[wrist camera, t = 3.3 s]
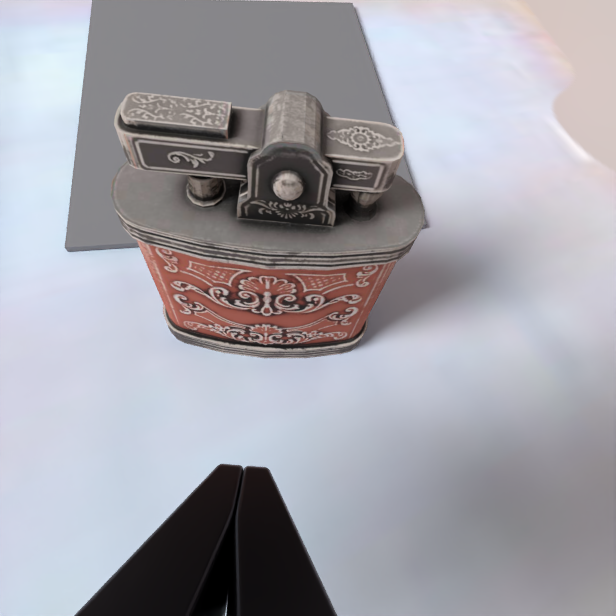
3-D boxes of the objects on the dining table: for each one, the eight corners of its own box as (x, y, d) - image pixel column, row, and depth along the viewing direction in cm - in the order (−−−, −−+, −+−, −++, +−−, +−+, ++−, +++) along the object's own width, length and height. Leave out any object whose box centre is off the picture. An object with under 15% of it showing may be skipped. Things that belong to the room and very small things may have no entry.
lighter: (362, 290, 19) (455, 81, 10) (364, 364, 17) (476, 194, 8) (174, 276, 18) (95, 39, 9) (159, 351, 17) (46, 153, 8)
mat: (424, 228, 21) (426, 224, 20) (67, 251, 18) (64, 247, 18) (351, 7, 28) (352, 2, 28) (94, 2, 26) (92, -3, 26)
